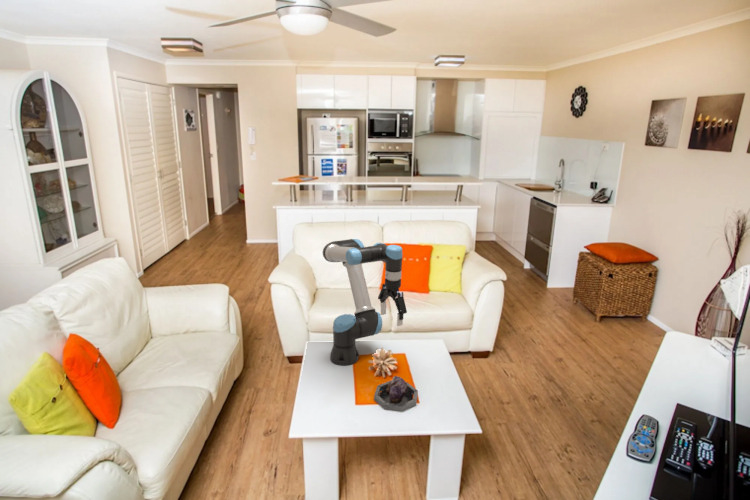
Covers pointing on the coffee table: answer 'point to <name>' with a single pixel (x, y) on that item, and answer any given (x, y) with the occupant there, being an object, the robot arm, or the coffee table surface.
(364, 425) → the coffee table surface
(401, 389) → the rock
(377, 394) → the collar
